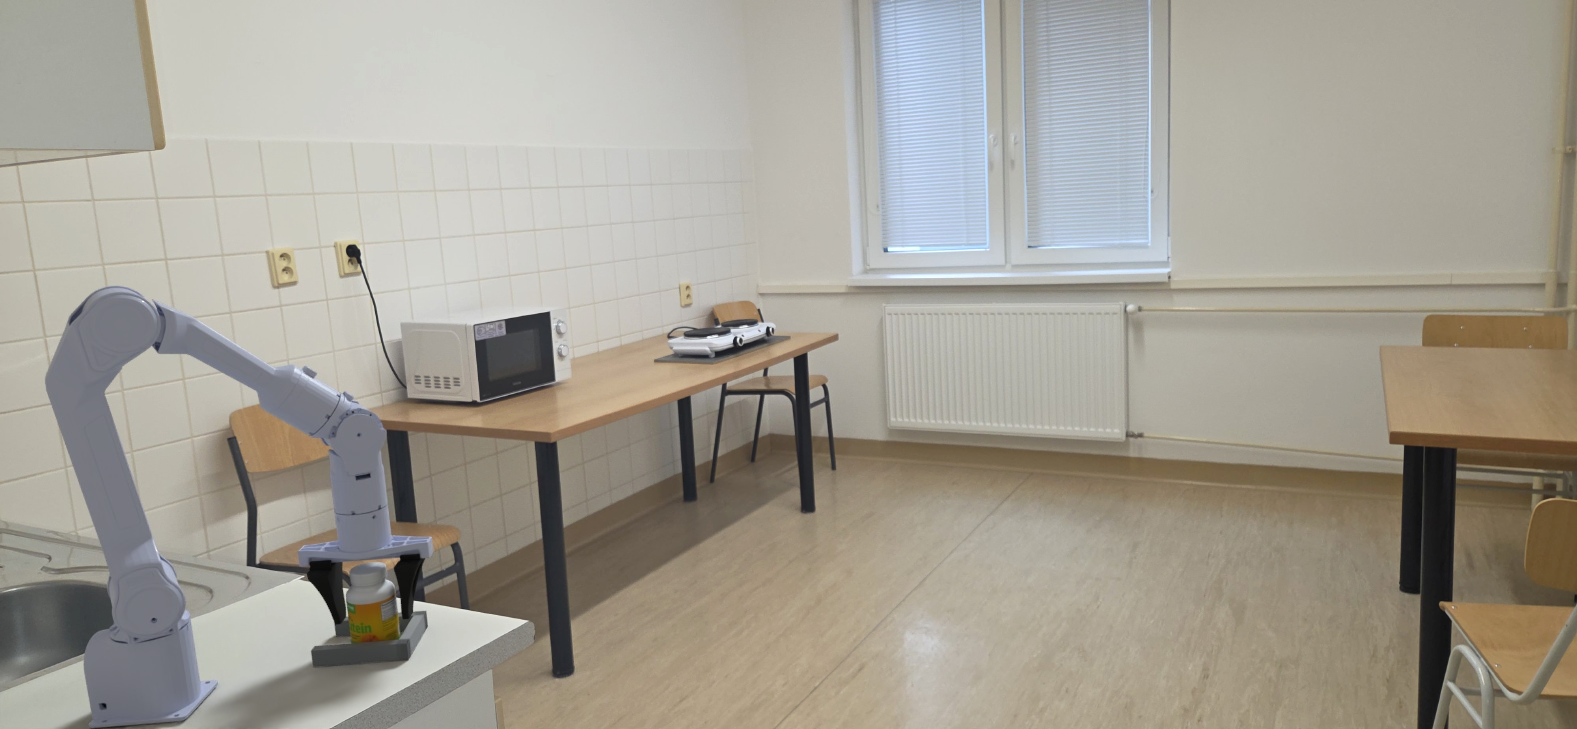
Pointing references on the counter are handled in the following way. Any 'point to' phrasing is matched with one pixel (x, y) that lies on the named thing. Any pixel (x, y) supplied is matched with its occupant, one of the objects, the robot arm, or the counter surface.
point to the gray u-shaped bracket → (372, 645)
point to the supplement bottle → (372, 604)
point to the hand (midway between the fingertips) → (374, 618)
